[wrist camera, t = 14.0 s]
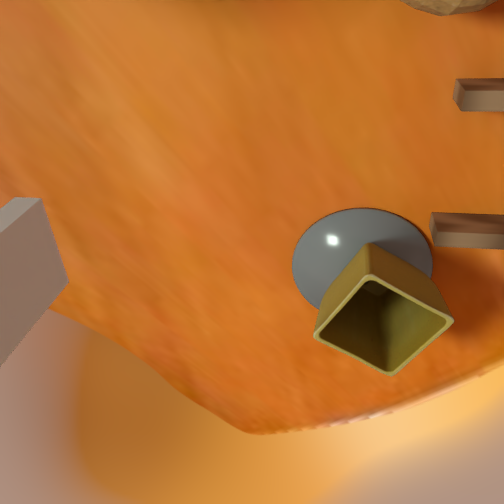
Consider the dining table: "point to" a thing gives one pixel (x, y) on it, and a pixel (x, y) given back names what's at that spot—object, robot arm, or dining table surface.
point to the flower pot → (381, 311)
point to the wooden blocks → (472, 225)
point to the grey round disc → (353, 247)
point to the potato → (448, 6)
